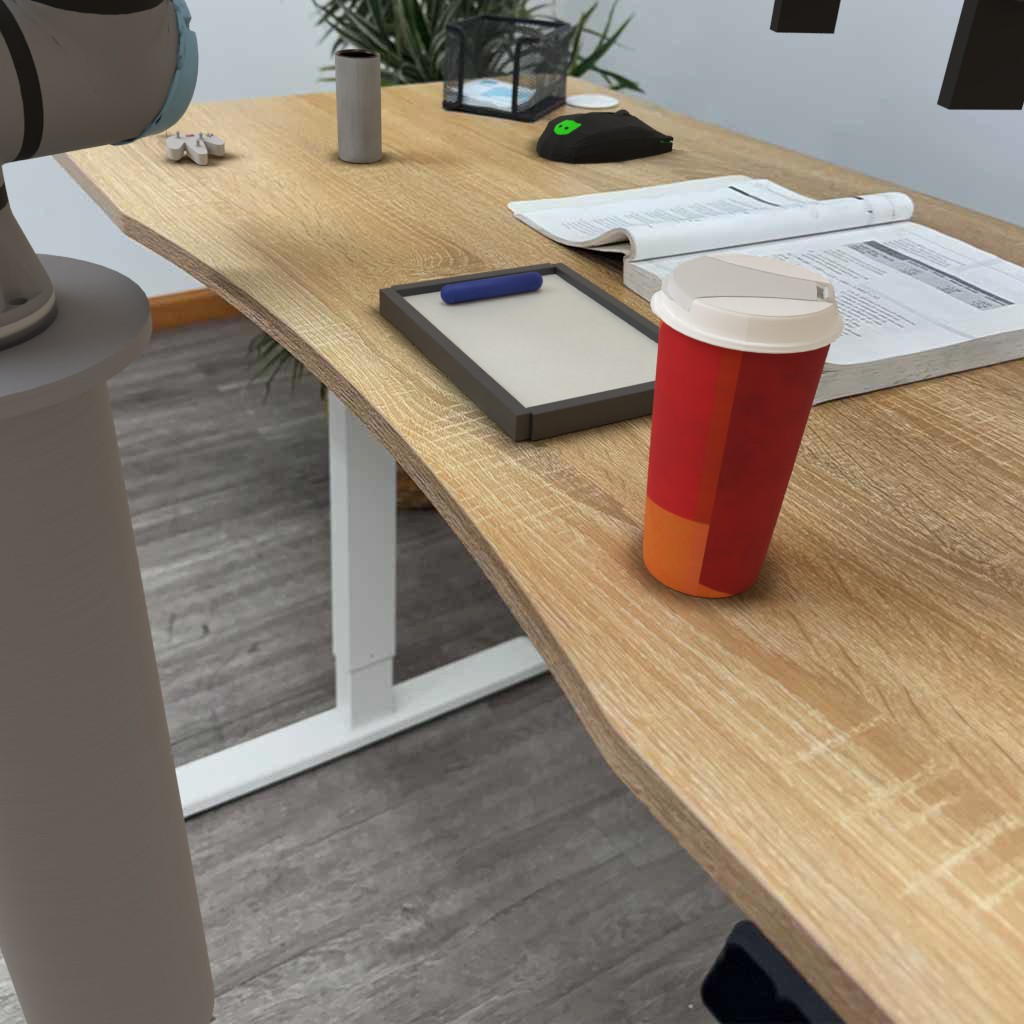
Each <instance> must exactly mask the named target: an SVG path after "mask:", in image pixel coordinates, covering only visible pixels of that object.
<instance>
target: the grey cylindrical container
mask: <svg viewBox="0 0 1024 1024" xmlns="http://www.w3.org/2000/svg"><path fill="white" fill-rule="evenodd" d="M334 74H335V99H336V100H335V102H336V126H337V127H336V128H337V130H336V131H337V151H338V158H339V159H340V160H341V161H343V162H347V163H354V164H369V163H370V164H371V163H376V162H378V161H380V160H381V159H382V157H383V156H382V155H383V144H382V143H383V140H382V139H383V138H382V133H383V132H382V85H381V84H382V77H381V54H380V53H379V52H378V51H375V50H371V49H365V48H364V49H363V48H346V49H339V50H337V51H335V52H334Z"/></svg>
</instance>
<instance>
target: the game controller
mask: <svg viewBox="0 0 1024 1024" xmlns="http://www.w3.org/2000/svg"><path fill="white" fill-rule="evenodd" d="M168 133H169V134H170V136H168ZM165 137H166V138H165V145H166V147H165V148H166V154H167V156H168V158H169V159H170V160H172V161H180V160H181V159H182V158H183V156H184V155H185V152H186V156H187V157H188V158H190V159H191V160H192V161H193V162H195V164H197V165H200V166H207V165H208V164H209V159H208V157H209V156H208V154H211V155H214V156H218V157H221V156H225V154H226V150H225V149H226V148H225V147H226V146H225V141H224V140H223V139H221V138H220V137H219V136H218V135H216V134H214V133H210V132H201V131H199V132H191V133H182V134H181V133H180V131H179V130H176V131H175V135H173V134H172V133H171V131H165Z"/></svg>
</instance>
